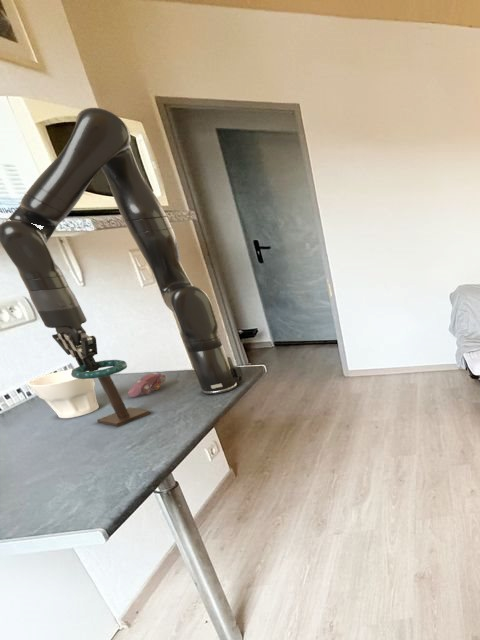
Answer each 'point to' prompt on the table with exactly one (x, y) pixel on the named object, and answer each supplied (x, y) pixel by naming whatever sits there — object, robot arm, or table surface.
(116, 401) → the post
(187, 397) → the table surface
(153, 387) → the pink oval lump
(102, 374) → the ring
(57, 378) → the cup
